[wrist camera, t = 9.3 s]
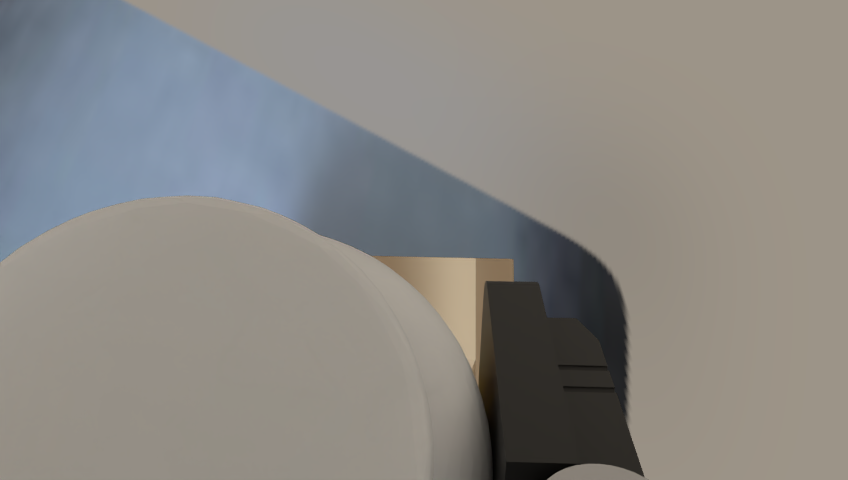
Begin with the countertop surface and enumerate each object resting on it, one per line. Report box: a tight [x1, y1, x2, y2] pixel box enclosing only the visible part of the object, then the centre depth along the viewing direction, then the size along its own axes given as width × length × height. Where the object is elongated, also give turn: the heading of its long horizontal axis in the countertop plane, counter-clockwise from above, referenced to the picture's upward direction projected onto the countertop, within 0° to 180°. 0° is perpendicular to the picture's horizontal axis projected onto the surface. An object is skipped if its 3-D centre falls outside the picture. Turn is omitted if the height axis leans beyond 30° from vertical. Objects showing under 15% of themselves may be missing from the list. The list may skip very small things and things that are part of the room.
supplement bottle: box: [0, 196, 493, 480], centre depth 10 cm, size 5×5×10 cm
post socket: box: [372, 256, 514, 385], centre depth 26 cm, size 10×14×6 cm
